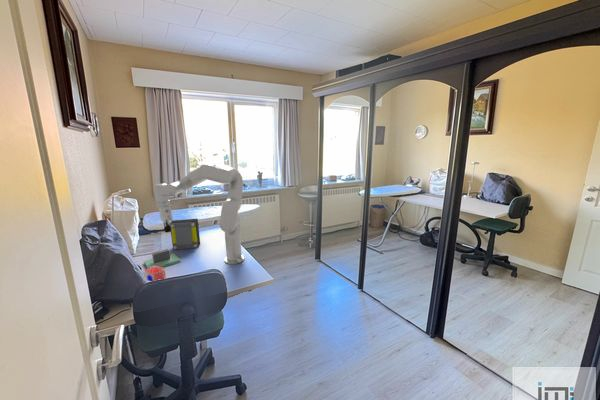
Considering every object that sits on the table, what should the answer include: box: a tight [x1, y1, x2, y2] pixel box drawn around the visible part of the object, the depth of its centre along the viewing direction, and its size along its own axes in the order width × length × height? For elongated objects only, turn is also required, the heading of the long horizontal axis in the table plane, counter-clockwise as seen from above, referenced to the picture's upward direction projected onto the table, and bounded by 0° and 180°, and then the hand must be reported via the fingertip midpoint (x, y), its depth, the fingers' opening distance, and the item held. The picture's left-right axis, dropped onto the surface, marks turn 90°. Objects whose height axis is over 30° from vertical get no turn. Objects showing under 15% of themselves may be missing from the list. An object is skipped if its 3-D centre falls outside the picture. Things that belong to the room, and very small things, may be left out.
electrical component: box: [170, 218, 201, 251], centre depth 193 cm, size 18×10×20 cm, turn 101°
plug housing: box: [151, 248, 171, 263], centre depth 169 cm, size 3×9×6 cm, turn 132°
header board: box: [143, 252, 181, 269], centre depth 169 cm, size 14×18×5 cm
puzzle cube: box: [141, 265, 167, 281], centre depth 145 cm, size 8×8×8 cm
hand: (168, 231), depth 167 cm, fingers closed
